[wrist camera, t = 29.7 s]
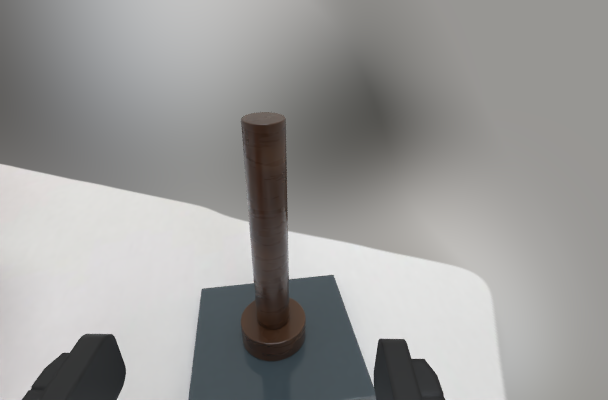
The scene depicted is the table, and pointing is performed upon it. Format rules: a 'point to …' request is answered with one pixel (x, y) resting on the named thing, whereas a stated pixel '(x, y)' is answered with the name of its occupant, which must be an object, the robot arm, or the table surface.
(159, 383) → the table surface
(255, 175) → the stirrer
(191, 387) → the square plate
